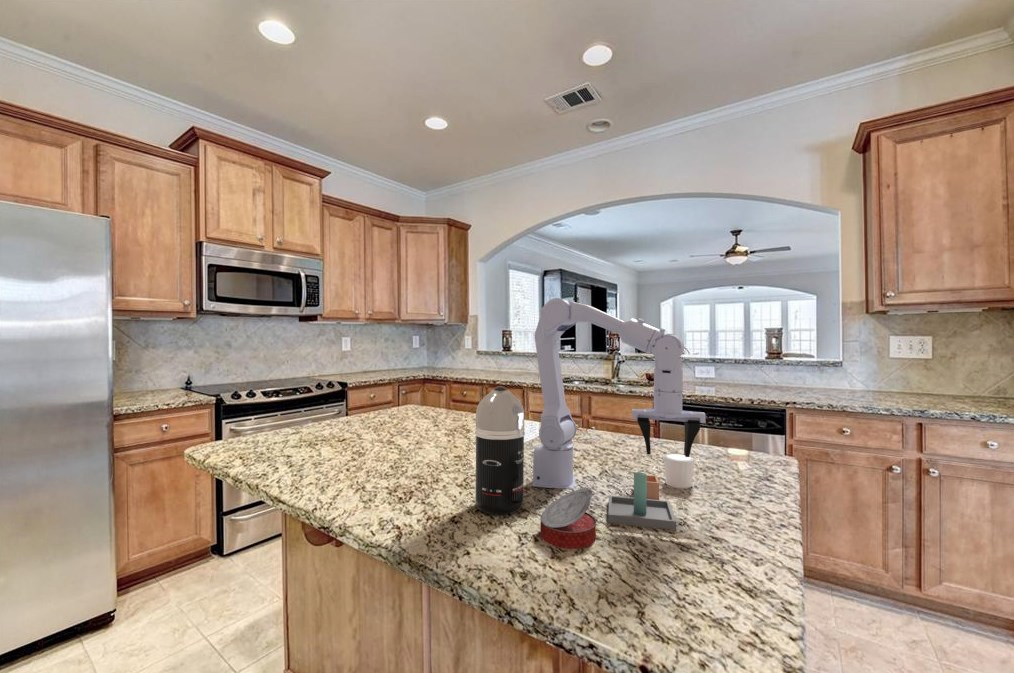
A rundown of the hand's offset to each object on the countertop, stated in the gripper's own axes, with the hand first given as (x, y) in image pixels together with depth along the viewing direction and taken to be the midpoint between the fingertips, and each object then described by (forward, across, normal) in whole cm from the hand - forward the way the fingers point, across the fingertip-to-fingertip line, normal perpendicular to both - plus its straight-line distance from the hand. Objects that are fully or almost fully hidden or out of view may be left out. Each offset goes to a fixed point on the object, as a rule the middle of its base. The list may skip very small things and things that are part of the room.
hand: (667, 454), depth 92 cm
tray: (+10, -6, -9) cm, 15 cm away
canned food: (+11, -19, -20) cm, 30 cm away
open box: (+10, -4, +3) cm, 12 cm away
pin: (+9, -6, -9) cm, 14 cm away
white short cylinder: (+11, +4, +12) cm, 17 cm away
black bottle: (+11, -34, -11) cm, 37 cm away
